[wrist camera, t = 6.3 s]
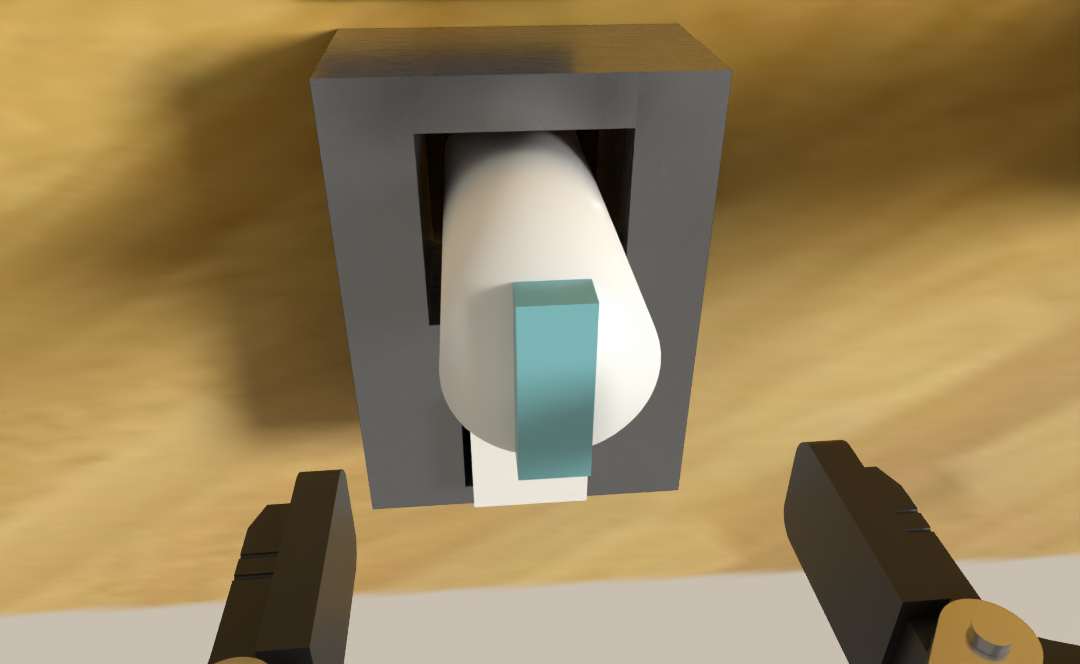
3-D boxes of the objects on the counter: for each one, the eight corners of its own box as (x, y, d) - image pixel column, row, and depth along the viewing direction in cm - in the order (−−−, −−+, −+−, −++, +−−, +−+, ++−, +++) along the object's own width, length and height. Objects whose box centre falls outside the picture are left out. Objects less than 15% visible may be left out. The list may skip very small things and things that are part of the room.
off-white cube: (467, 332, 29) (469, 417, 25) (571, 327, 29) (590, 411, 25) (471, 415, 31) (474, 507, 27) (568, 409, 31) (586, 500, 27)
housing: (337, 29, 25) (309, 78, 20) (678, 23, 26) (732, 70, 21) (384, 406, 33) (372, 509, 28) (644, 392, 34) (677, 490, 29)
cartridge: (440, 93, 27) (430, 302, 15) (582, 90, 27) (683, 290, 15) (448, 225, 29) (445, 491, 17) (578, 220, 30) (661, 478, 18)
